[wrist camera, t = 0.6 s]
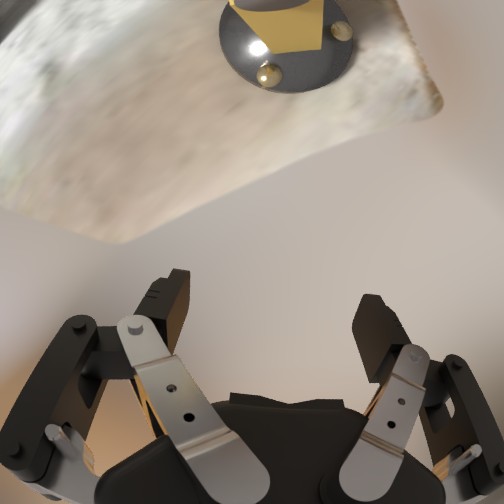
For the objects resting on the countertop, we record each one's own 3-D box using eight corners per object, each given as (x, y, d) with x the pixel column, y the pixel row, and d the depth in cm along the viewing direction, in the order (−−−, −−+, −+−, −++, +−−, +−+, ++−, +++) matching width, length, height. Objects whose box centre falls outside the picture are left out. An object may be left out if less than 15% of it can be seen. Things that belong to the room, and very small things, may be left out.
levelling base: (230, 101, 29) (230, 99, 27) (211, -9, 23) (210, -17, 20) (354, 91, 29) (363, 89, 27) (333, -13, 23) (340, -19, 21)
